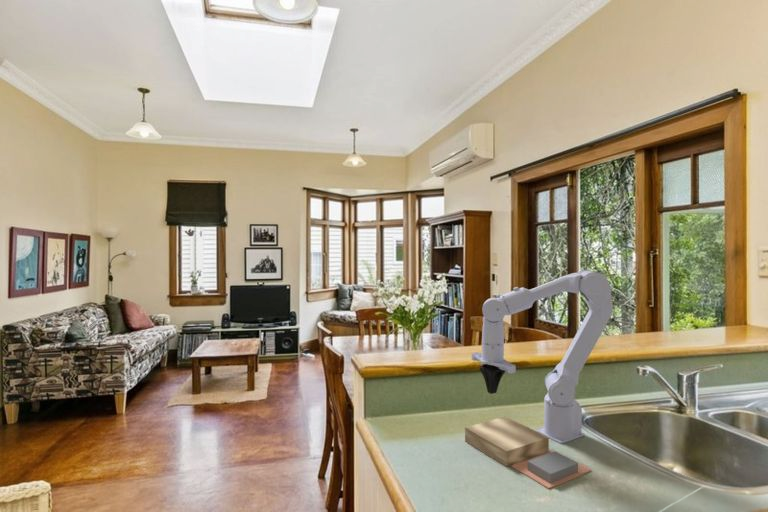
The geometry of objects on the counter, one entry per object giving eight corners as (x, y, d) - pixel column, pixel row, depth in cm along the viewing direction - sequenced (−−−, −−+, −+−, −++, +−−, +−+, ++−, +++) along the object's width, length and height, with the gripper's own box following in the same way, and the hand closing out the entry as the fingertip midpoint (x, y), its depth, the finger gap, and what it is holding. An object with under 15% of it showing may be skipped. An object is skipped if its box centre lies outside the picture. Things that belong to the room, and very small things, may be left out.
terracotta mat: (553, 451, 103) (553, 450, 103) (591, 470, 95) (591, 469, 95) (511, 466, 96) (511, 465, 96) (548, 489, 88) (548, 487, 88)
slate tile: (578, 462, 94) (578, 471, 94) (554, 451, 99) (554, 459, 99) (550, 474, 89) (550, 483, 89) (527, 461, 94) (527, 470, 94)
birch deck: (505, 429, 115) (505, 416, 115) (548, 451, 103) (548, 437, 103) (465, 441, 108) (465, 427, 108) (506, 466, 96) (506, 451, 96)
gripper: (463, 339, 120) (463, 386, 121) (502, 350, 108) (501, 404, 108) (482, 336, 124) (481, 382, 124) (521, 347, 111) (520, 399, 112)
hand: (492, 392), depth 117 cm, fingers closed
